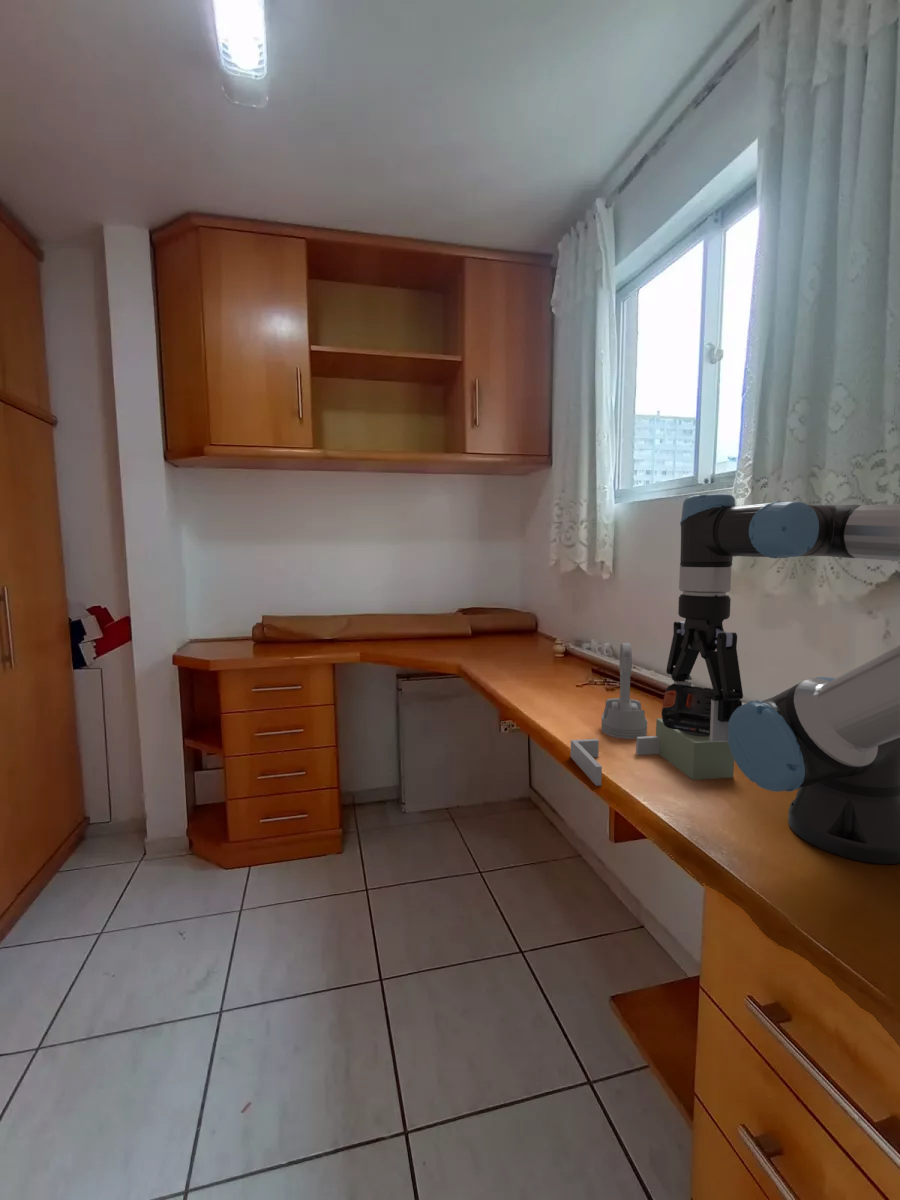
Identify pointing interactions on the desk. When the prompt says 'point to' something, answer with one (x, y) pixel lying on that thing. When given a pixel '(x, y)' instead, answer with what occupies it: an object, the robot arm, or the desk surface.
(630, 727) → the engine component
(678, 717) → the battery
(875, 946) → the desk surface
